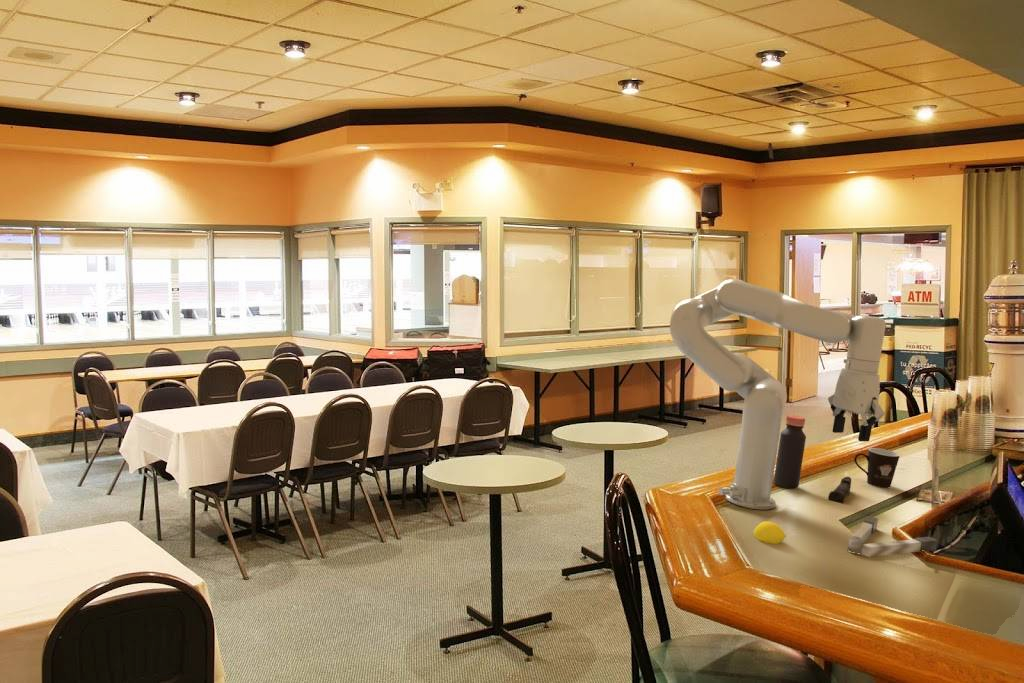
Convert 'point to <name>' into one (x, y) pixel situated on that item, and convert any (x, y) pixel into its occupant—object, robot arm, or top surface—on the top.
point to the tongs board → (892, 546)
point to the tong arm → (866, 529)
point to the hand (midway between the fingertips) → (850, 436)
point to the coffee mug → (880, 466)
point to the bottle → (790, 453)
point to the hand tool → (841, 491)
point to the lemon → (769, 533)
